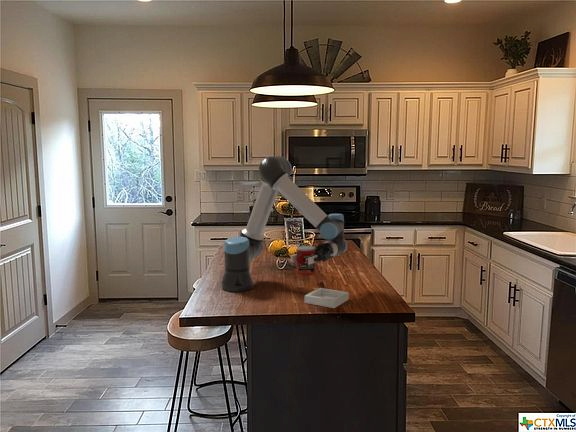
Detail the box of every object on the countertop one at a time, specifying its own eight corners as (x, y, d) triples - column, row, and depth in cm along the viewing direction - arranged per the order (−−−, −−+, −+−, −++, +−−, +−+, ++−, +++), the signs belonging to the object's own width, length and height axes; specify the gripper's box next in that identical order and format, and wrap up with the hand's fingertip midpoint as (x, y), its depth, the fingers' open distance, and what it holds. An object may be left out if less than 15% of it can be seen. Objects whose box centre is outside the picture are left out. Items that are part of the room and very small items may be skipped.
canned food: (297, 275, 193) (297, 249, 191) (296, 271, 200) (296, 245, 199) (316, 275, 193) (315, 249, 192) (314, 270, 201) (314, 245, 199)
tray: (304, 302, 198) (304, 295, 198) (319, 294, 210) (320, 287, 209) (334, 308, 191) (334, 300, 190) (348, 299, 202) (348, 292, 202)
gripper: (346, 261, 206) (322, 272, 187) (306, 256, 217) (279, 266, 198) (346, 244, 205) (322, 253, 186) (306, 240, 216) (279, 248, 197)
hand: (300, 260), depth 192 cm, fingers closed on canned food, 8 cm apart
